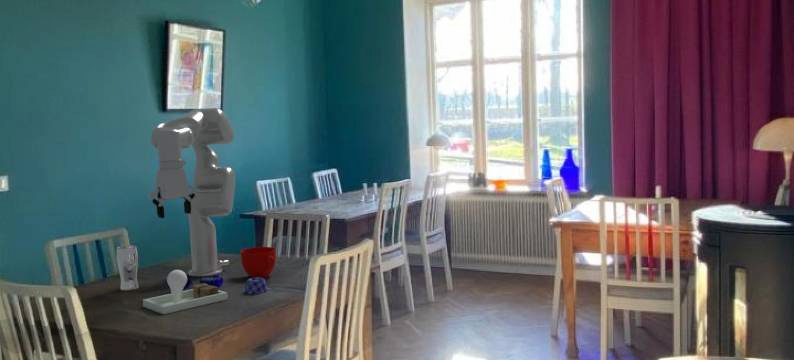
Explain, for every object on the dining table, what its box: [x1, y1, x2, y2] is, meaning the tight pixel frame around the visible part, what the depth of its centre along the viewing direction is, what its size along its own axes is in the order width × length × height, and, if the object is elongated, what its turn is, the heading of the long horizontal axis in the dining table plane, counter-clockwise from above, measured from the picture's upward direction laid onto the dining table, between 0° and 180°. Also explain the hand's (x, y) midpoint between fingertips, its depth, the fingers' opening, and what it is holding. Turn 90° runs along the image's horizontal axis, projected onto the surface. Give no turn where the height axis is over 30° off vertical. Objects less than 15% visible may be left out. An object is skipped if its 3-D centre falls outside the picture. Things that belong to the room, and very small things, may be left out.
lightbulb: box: [166, 269, 188, 303], centre depth 226 cm, size 6×6×11 cm
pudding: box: [244, 277, 272, 295], centre depth 240 cm, size 12×12×5 cm
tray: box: [142, 288, 229, 315], centre depth 228 cm, size 22×14×3 cm, turn 134°
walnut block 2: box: [200, 285, 219, 297], centre depth 231 cm, size 4×4×4 cm
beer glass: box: [116, 244, 139, 292], centre depth 253 cm, size 7×7×15 cm
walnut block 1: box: [192, 282, 210, 298], centre depth 234 cm, size 4×4×4 cm
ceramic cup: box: [240, 246, 277, 279], centre depth 264 cm, size 13×17×10 cm
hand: (174, 215), depth 243 cm, fingers open, 9 cm apart
